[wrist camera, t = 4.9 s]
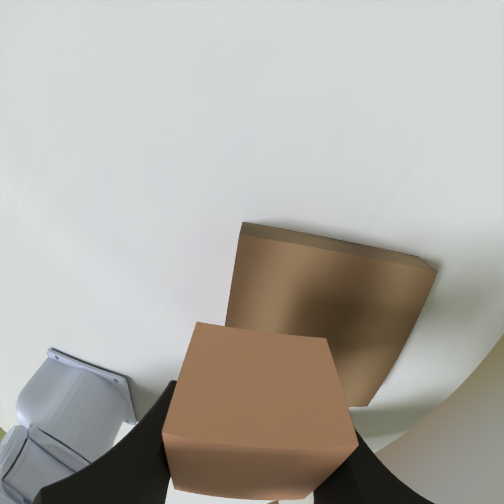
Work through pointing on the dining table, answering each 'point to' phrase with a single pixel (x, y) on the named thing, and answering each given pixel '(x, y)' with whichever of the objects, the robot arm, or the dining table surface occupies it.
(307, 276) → the walnut plinth
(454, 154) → the dining table surface
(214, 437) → the terracotta block
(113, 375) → the robot arm
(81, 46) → the dining table surface
